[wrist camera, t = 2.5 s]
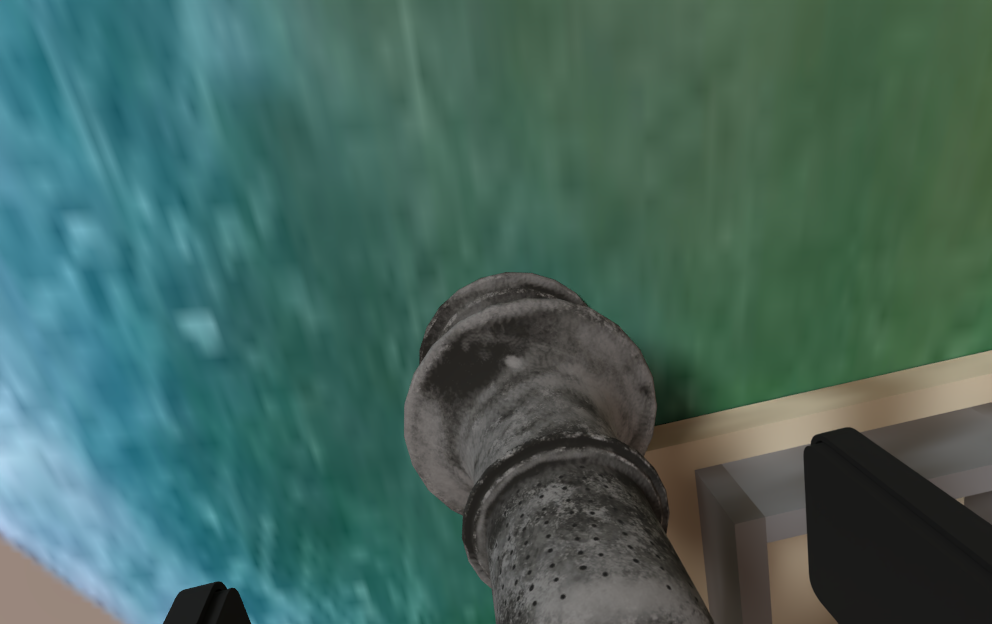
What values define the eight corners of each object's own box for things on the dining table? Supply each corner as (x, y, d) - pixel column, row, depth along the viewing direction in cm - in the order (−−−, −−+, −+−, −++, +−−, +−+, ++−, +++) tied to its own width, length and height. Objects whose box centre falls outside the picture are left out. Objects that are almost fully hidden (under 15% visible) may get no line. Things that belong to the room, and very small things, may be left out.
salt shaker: (588, 464, 19) (823, 982, 8) (394, 442, 18) (339, 991, 7) (636, 279, 18) (1022, 594, 6) (424, 244, 17) (418, 540, 5)
